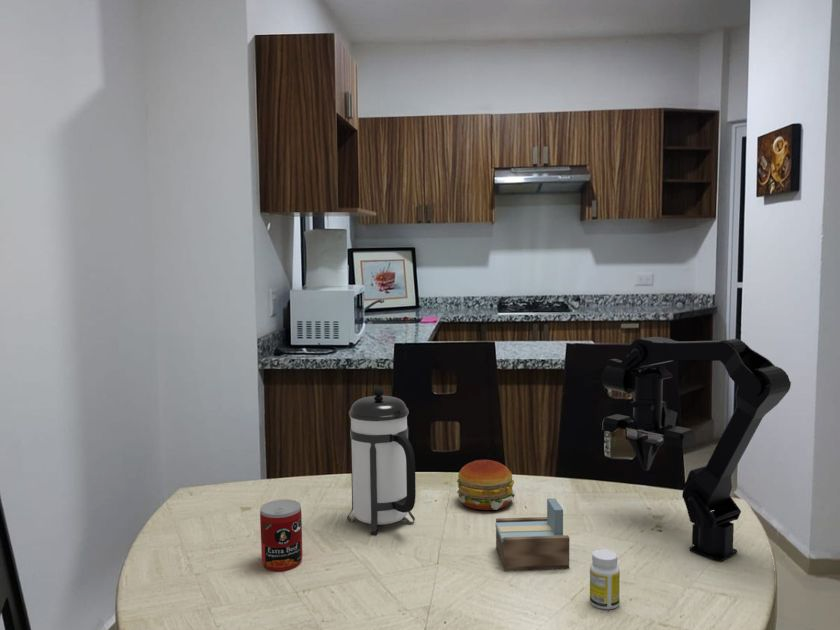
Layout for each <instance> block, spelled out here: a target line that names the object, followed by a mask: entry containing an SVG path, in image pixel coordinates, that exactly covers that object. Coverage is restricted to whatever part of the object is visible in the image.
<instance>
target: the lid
mask: <svg viewBox="0 0 840 630" xmlns="http://www.w3.org/2000/svg"><path fill="white" fill-rule="evenodd" d="M546 509H547V510H546V517H547V521H532V522H500V523H496V522H495V530H496V529H497V531H498V534H499V537H500V539H501V542H502V543H503V542H504V537H532V536H563V535H564V509H563V508H562V506H561V505H560V503H559V502H558V500H557V499H556V498H555V497H553V498H551V497H550V498H547V499H546Z"/></svg>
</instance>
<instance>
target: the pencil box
mask: <svg viewBox="0 0 840 630" xmlns="http://www.w3.org/2000/svg"><path fill="white" fill-rule="evenodd" d="M532 521H547V516H540V517H539V516H538V517H535V516H533V517H505V518H503V517H502V518H495V524H496V523H500V522H532ZM495 548H496V551H497V554H498V557H499V560H500V562H501V565H502V568H503V571H504V572H518V571H521V572H522V571H549V570H550V571H551V570H552V571H553V570H570V536H569V535H568V534H567V535H566V534H565V535H564V534H563V536H532V537H504V542H503V543H502V542H501V539H500V537H499V534H498V531H497V529H496V528H495Z"/></svg>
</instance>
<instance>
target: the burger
mask: <svg viewBox="0 0 840 630" xmlns="http://www.w3.org/2000/svg"><path fill="white" fill-rule="evenodd" d="M457 475H458V477H457V478H458V479H457V480H456V483H458V484H457V487H458V490H457V492H456V493H457V494H458V499H459V501H460V502H461V503H462V505H464V506H466V507H468V508H471V509H476V510H484V511H489V510H490V511H492V510H499V509H502V508H505V507H506V506H508V505H509V504H510V502H511V500H514V499H515V496H516V494H515V491H514V489H513V485H514V484H515V481H514V479H513V474H512V471H510V469H509V468H508V467H507V466H506V465H504V464H502V463H501V462H500V461H495V460H492V459H491V460H490V459H478V460H477V459H476V460H473V461H470V462H468V463H467V464H465V465H464V466H463V467H461V469H460V470H459V471H458V474H457Z"/></svg>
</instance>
